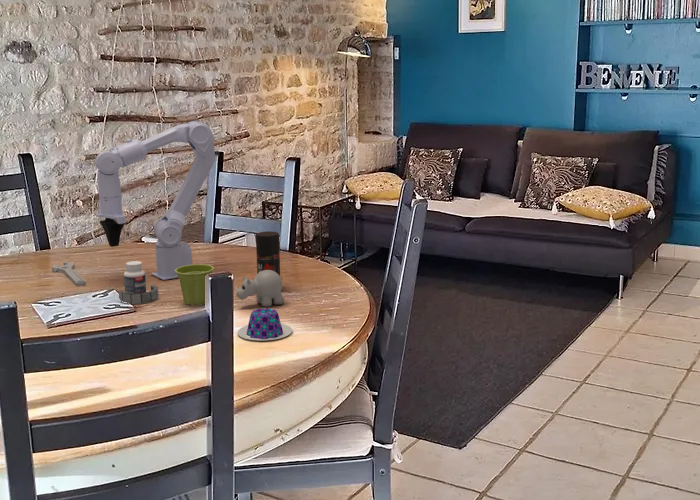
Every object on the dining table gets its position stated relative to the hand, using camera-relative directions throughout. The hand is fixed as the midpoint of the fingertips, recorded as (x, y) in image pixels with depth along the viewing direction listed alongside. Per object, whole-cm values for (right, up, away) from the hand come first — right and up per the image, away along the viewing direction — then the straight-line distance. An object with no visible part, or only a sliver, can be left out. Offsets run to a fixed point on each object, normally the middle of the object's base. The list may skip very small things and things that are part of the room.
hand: (114, 245), depth 216 cm
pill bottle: (+9, -13, -13) cm, 20 cm away
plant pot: (+26, -14, -18) cm, 35 cm away
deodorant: (+43, -12, -8) cm, 45 cm away
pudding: (+45, -20, -41) cm, 64 cm away
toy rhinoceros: (+42, -15, -21) cm, 49 cm away
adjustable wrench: (-15, -9, +8) cm, 19 cm away
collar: (+12, -14, -16) cm, 24 cm away
